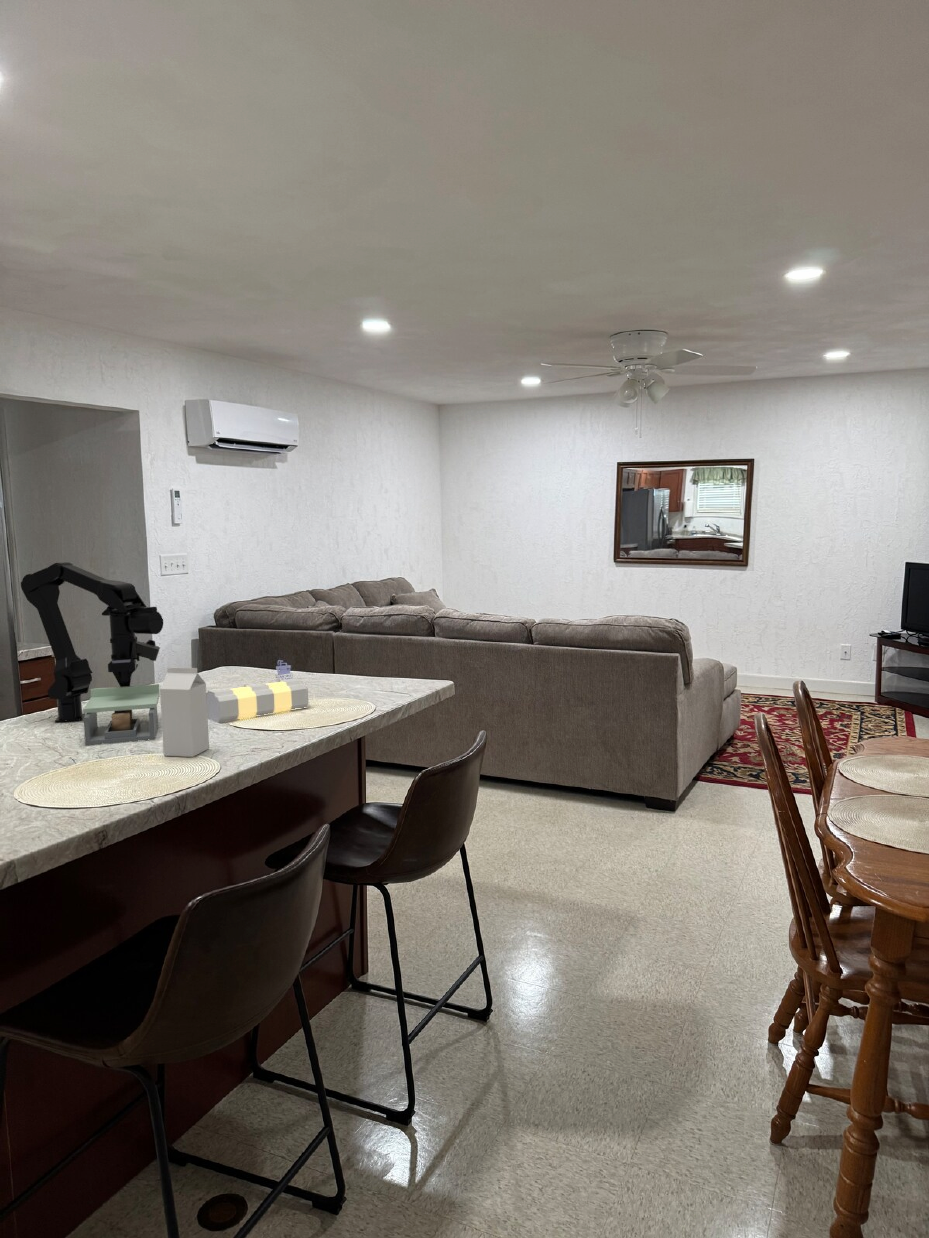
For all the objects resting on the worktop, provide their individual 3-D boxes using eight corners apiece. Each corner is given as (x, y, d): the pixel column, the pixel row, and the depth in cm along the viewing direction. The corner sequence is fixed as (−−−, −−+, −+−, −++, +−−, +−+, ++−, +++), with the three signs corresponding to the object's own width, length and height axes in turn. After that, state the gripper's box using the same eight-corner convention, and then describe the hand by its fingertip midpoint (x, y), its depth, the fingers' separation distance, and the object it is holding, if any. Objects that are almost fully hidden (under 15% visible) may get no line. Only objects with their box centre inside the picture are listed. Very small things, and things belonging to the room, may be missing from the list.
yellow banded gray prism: (291, 703, 236) (289, 658, 234) (308, 709, 228) (307, 662, 226) (204, 718, 220) (202, 668, 219) (220, 724, 212) (218, 673, 211)
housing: (93, 731, 206) (91, 705, 206) (158, 726, 211) (156, 700, 210) (85, 745, 193) (83, 717, 192) (154, 739, 197) (153, 712, 197)
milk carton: (193, 757, 182) (188, 671, 179) (163, 756, 183) (158, 670, 181) (209, 748, 189) (205, 665, 186) (180, 747, 190) (176, 664, 188)
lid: (91, 700, 210) (91, 688, 210) (159, 695, 215) (159, 684, 214) (83, 713, 196) (82, 700, 195) (156, 707, 200) (155, 695, 200)
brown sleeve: (112, 737, 196) (111, 716, 196) (112, 732, 200) (111, 712, 199) (130, 735, 198) (129, 714, 197) (130, 731, 201) (129, 710, 201)
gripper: (155, 636, 205) (158, 698, 207) (158, 627, 223) (161, 685, 225) (105, 638, 202) (110, 702, 204) (113, 629, 220) (117, 688, 222)
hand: (126, 693), depth 214 cm, fingers closed
